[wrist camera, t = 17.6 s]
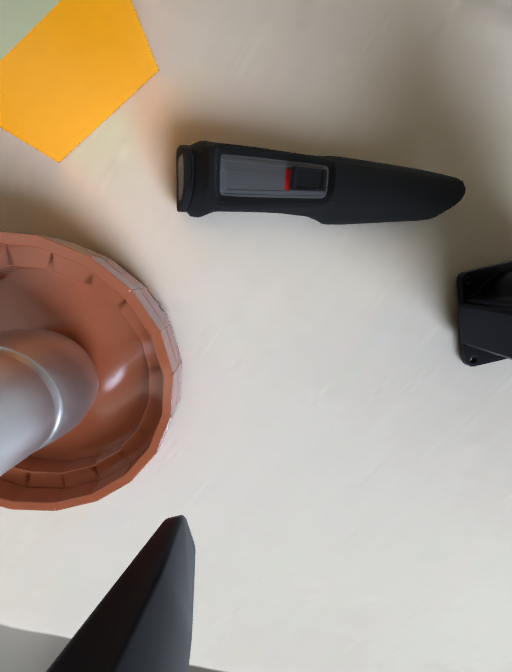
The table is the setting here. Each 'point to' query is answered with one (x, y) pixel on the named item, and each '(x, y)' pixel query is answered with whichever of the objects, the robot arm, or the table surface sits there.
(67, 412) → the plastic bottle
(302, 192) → the electric trimmer
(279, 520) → the table surface
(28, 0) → the orange juice
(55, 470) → the bowl
